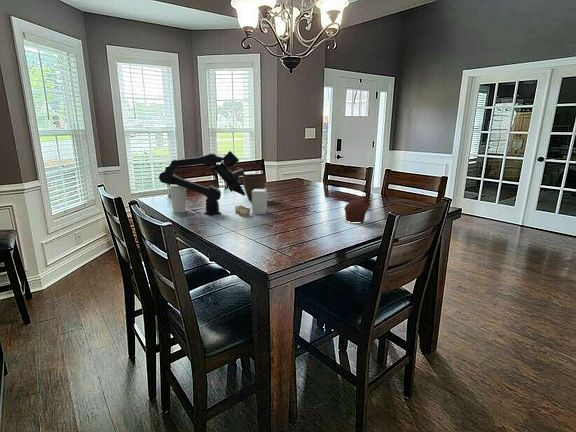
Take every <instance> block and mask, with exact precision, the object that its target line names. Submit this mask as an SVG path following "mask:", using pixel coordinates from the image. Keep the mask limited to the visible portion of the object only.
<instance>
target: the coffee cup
mask: <svg viewBox="0 0 576 432" xmlns="http://www.w3.org/2000/svg"><path fill="white" fill-rule="evenodd" d="M168 190H169V193H170V200H171V205H172V212H173V213H175V214H183V213H186V211H187V190H188V189H187V188H184V187H181V186H178V185H172V184H169V187H168Z"/></svg>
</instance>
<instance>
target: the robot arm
mask: <svg viewBox="0 0 576 432" xmlns="http://www.w3.org/2000/svg"><path fill="white" fill-rule="evenodd" d="M239 162H240V159H239V158H238V157H237V156H236V155H235V154H234V153H233V152H232V151H231V150H229V151H228V152H227V154H225V155H224V156H217V154H216V153H214V152H213V153H212V152H211V153H207V154H204V155H201V156H198V157H188V158H181V159H174V160H172V161H171V162H170V164H169V165H168V166H167V168H166V169H165V170H164V171H162V172H160V173H159V175H158V179H159V181H160V183H162V184H166V185H171V184H172V185H178V186H181V187H184V188H187V189H186V190H191V191H193V192H195V193H199V194H202V195H203V196H204V197H206V199H205V212H203V214H204V215H209V216H215V215H218V214H221V213H222V212H221V211H220V207H219V206H220V204H219V200H220V198H221V196H222V191H221V190H220V188H218V186H214V185H212V184H210V185H209V186H205V185H202V184H199V183H195V182H193V181H191V180H188V179H185V178H181V177H179V176H178V175H177V174H176V173H175V172H176V171H177V169H178V168H183V167H191V166H192V167H193V166H198V165H203V166H211V167H210V168H211V169H210V170H211V171H210V172H211V173H213V172H215V173H216V174H218V176H220V178H221V179H222V180H223V181H224V182H225V183H226V185H227V186H228V190H229V191H230V192H236V193H237V194H240V195H242V196H245V195H246V192H245V190H244V189H243V188H242V186H241V185H242V184H241V180H240V177H242V176H244V175H246V173H245V172H244V169H243V168H240V167H236V170H235V171H232V170H230V169H229V168H233V167H234V166H235V165H236V164H237V163H239Z"/></svg>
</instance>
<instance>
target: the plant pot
mask: <svg viewBox="0 0 576 432" xmlns="http://www.w3.org/2000/svg"><path fill="white" fill-rule="evenodd" d="M241 178H242V184H243V187H244V192H245V195H246V197H247V199H248V201H249V202H252V191H253V190H254V189H265V185H266V178H267V175H266V174H261V173H245V175H244V176H241Z"/></svg>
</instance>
